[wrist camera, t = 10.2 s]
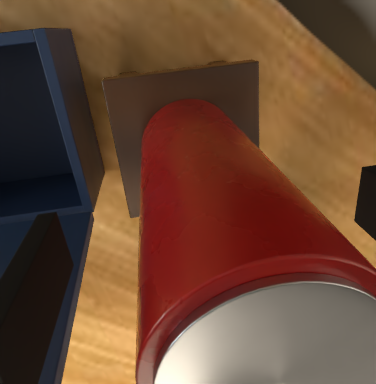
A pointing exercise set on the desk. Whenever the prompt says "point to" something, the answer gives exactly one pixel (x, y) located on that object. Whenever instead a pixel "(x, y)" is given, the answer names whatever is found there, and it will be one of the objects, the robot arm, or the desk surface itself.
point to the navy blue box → (45, 128)
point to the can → (241, 266)
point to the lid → (78, 246)
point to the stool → (170, 92)
